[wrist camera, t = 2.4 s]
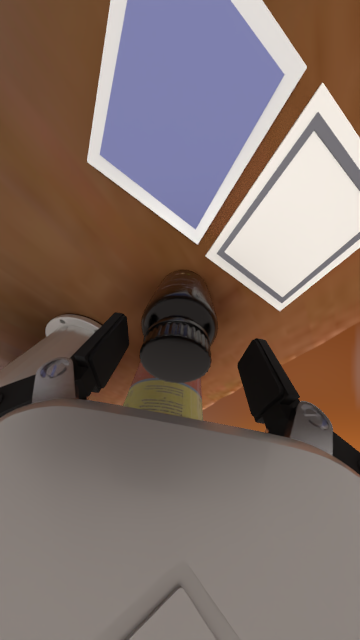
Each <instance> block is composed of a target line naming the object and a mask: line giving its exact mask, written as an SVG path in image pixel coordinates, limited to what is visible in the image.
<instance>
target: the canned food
mask: <svg viewBox="0 0 360 640" xmlns="http://www.w3.org/2000/svg"><path fill="white" fill-rule="evenodd" d="M123 406H126V407H131V408H137V409H142V410H148V411H153V412H159V413H164V414H170V415H175V416H180V417H186V418H191V419H197V420H202V421H203V414H202V396H201V378H199V379H196V380H195V381H191V382H186V383H171V382H165V381H163V380H159V379H158V378H155V377H154V376H153V375H151V374H149V372H147V371H146V370H145V368H144V367H143V365H142V363H141V362H140V364H139V367H138V369H137V372H136V374H135V377H134V379H133V382H132V384H131V387H130V389H129V392H128V394H127V397H126V399H125V402H124V404H123Z"/></svg>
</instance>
